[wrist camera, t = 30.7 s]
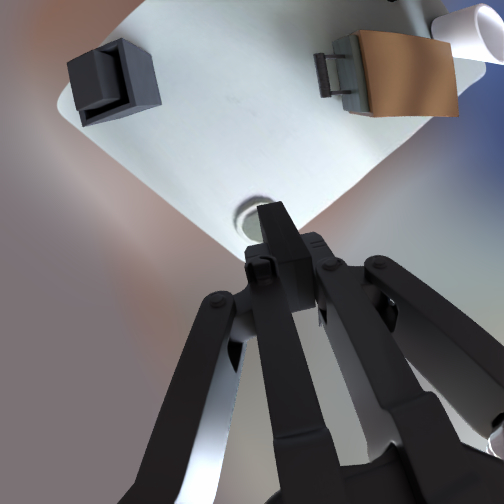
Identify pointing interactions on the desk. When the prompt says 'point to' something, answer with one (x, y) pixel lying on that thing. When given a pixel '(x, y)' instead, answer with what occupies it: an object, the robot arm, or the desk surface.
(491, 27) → the cup
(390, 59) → the cabinet
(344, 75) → the drawer
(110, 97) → the block
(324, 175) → the desk surface
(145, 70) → the caddy
